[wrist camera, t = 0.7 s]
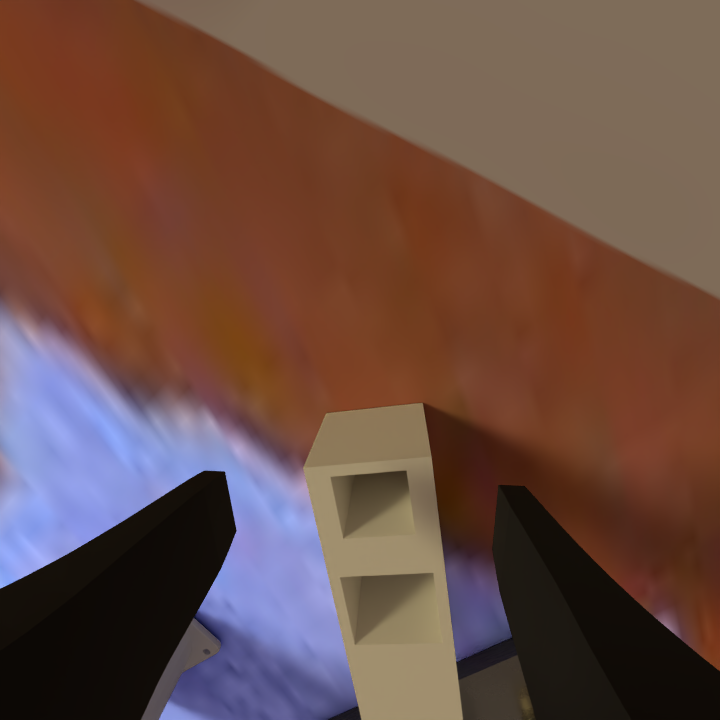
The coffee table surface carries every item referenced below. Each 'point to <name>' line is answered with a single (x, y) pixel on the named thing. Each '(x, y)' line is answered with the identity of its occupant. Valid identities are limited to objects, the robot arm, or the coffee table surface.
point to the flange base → (487, 687)
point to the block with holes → (386, 560)
